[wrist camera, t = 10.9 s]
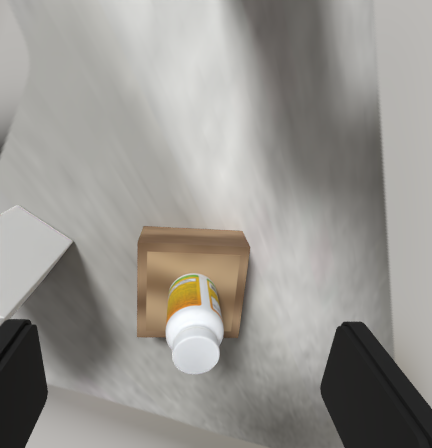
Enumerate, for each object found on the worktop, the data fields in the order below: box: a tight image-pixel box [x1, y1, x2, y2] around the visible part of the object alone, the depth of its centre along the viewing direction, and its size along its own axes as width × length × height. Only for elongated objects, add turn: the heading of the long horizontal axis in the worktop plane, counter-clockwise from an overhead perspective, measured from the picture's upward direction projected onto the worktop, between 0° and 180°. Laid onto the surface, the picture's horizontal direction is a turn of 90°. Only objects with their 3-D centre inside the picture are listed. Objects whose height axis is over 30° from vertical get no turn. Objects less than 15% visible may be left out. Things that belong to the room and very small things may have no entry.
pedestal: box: [137, 226, 250, 338], centre depth 37 cm, size 12×12×5 cm
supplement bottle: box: [166, 273, 224, 374], centre depth 30 cm, size 5×5×10 cm
